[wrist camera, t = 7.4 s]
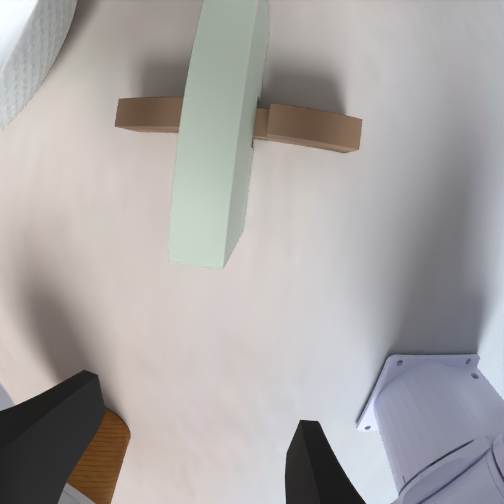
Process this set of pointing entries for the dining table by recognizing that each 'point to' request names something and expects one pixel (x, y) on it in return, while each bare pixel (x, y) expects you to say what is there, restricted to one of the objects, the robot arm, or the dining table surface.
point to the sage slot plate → (217, 132)
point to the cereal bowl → (29, 48)
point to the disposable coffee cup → (98, 465)
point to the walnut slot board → (265, 126)
